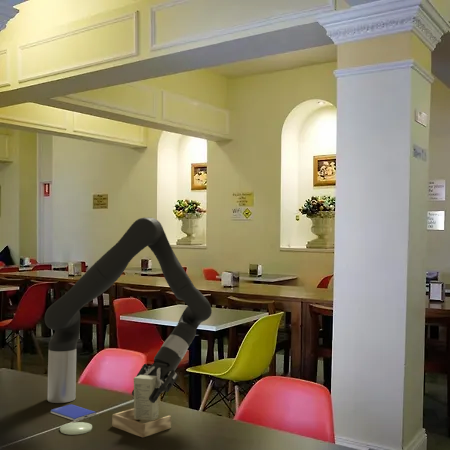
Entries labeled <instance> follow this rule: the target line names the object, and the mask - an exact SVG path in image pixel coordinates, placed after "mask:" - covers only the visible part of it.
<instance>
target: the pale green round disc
mask: <svg viewBox="0 0 450 450" xmlns="http://www.w3.org/2000/svg"><path fill="white" fill-rule="evenodd" d="M92 430H93V424H91V423H89V422H83V421H80V422H79V421H74V422H70V423H65V424H63V425H61V426H60V428H59V431H60V433H62V434H64V435H69V436H76V435H83V434H88V433H90V432H91V431H92Z"/></svg>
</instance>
